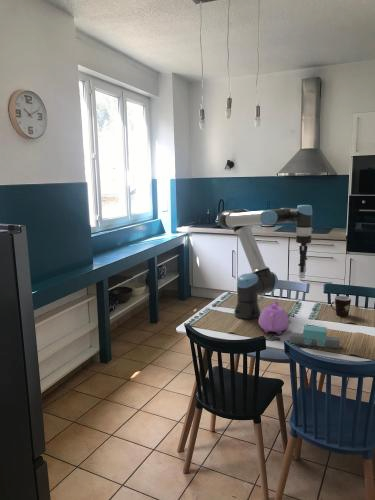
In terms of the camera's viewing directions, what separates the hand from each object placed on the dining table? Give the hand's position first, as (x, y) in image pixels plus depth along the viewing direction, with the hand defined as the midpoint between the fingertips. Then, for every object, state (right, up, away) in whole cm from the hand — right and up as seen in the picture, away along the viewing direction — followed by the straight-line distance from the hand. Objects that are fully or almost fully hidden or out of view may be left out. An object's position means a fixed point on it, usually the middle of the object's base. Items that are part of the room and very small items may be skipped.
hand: (302, 275), depth 204 cm
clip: (-1, -31, -23) cm, 38 cm away
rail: (-1, -31, -22) cm, 38 cm away
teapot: (-16, -28, -3) cm, 33 cm away
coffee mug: (+25, -24, +15) cm, 38 cm away
